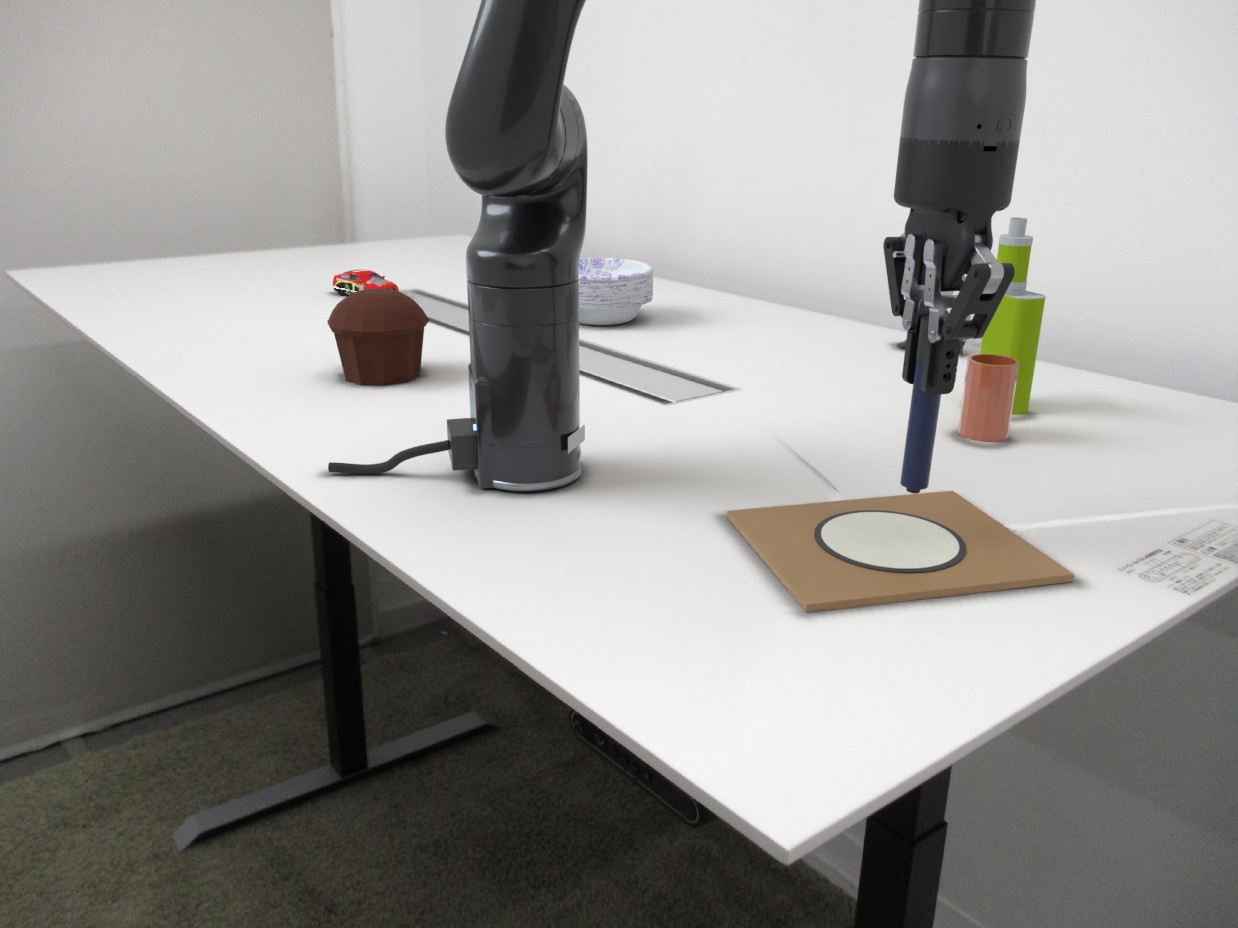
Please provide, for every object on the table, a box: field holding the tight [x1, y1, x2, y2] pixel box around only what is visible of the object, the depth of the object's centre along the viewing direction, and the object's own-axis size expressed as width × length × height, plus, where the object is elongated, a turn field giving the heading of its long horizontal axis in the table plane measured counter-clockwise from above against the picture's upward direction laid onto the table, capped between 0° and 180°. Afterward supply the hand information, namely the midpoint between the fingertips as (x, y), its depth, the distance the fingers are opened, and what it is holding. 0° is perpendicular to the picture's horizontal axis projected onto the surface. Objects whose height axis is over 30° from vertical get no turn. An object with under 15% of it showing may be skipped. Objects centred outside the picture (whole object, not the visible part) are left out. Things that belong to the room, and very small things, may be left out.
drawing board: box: [726, 490, 1075, 613], centre depth 75 cm, size 20×16×1 cm
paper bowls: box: [579, 257, 654, 326], centre depth 148 cm, size 15×15×8 cm
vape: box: [979, 217, 1046, 416], centre depth 104 cm, size 4×6×20 cm, turn 27°
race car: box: [332, 269, 400, 296], centre depth 164 cm, size 13×5×4 cm, turn 50°
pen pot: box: [957, 353, 1019, 443], centre depth 98 cm, size 5×5×8 cm
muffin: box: [326, 288, 430, 386], centre depth 118 cm, size 12×11×10 cm
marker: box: [899, 316, 947, 494], centre depth 73 cm, size 2×2×13 cm
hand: (927, 386), depth 72 cm, fingers closed on marker, 2 cm apart
